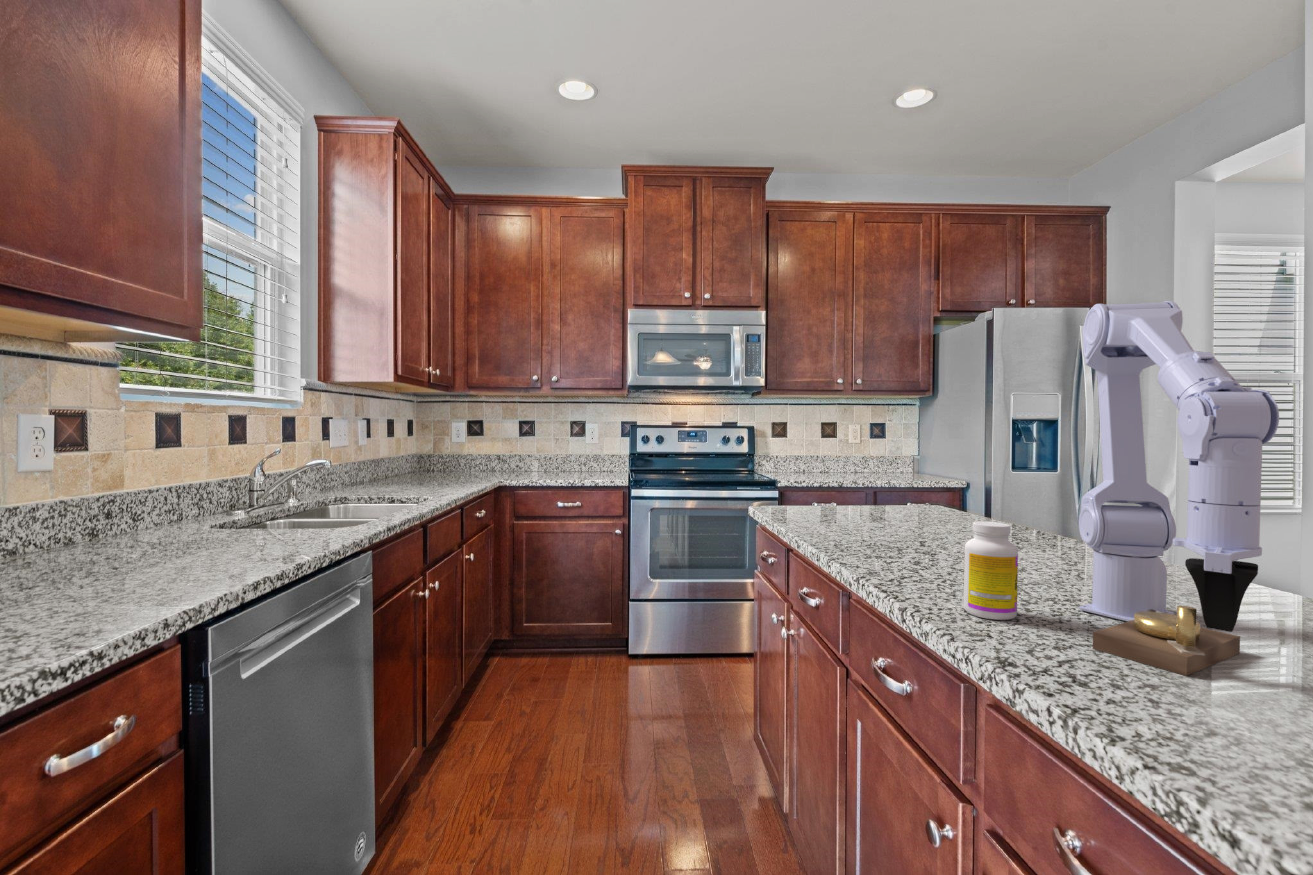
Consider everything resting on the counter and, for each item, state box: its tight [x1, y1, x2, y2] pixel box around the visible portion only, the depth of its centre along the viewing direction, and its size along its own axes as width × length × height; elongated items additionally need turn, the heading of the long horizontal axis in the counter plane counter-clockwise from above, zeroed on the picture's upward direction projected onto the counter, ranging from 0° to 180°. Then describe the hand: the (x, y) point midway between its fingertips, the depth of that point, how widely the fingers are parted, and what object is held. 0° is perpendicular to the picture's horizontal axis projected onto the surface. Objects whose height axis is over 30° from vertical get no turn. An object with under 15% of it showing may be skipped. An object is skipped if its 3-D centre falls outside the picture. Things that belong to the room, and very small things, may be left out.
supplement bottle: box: [963, 520, 1019, 621], centre depth 85 cm, size 7×7×13 cm
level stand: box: [1092, 609, 1241, 677], centre depth 72 cm, size 14×10×4 cm
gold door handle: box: [1134, 605, 1201, 647], centre depth 70 cm, size 10×6×4 cm, turn 156°
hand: (1219, 628), depth 65 cm, fingers closed
